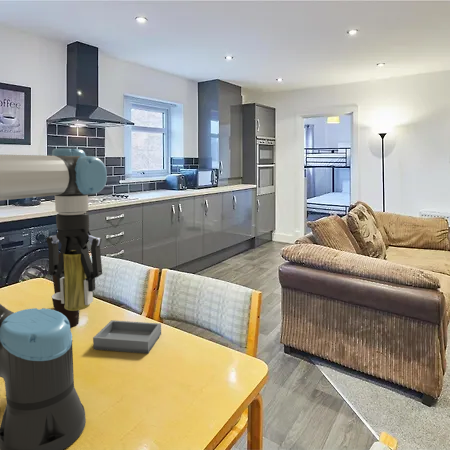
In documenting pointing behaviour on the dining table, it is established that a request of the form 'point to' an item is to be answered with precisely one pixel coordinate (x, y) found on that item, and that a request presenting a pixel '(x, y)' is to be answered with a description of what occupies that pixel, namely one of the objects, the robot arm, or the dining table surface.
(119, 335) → the tray
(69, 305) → the vase
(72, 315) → the coffee mug
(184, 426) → the dining table surface
